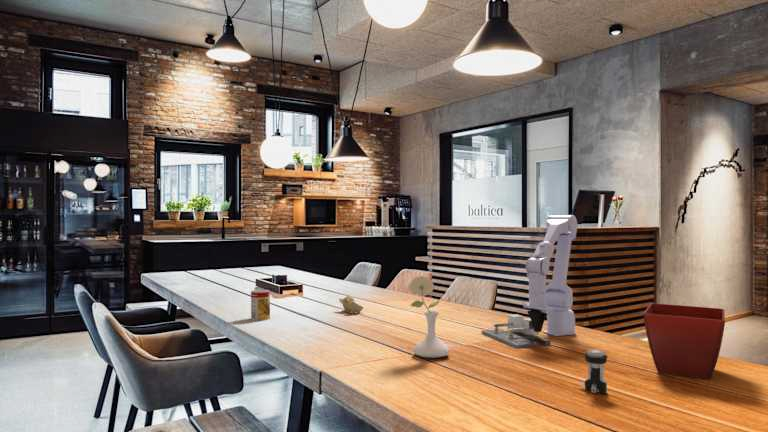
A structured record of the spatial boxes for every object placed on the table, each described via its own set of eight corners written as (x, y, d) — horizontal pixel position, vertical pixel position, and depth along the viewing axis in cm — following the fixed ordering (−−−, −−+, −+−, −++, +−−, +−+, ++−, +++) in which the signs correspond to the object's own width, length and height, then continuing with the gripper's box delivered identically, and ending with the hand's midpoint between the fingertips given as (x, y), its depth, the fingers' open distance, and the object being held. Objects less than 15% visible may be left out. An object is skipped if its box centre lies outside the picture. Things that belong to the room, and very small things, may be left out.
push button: (575, 390, 134) (575, 350, 134) (584, 385, 138) (583, 346, 138) (603, 396, 129) (602, 355, 129) (610, 391, 133) (610, 351, 133)
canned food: (273, 318, 233) (273, 290, 233) (260, 321, 226) (260, 292, 226) (260, 316, 237) (260, 289, 237) (247, 319, 230) (247, 291, 230)
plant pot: (725, 385, 137) (725, 319, 137) (643, 374, 147) (642, 312, 147) (725, 367, 153) (724, 308, 153) (650, 358, 164) (650, 303, 164)
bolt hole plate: (500, 331, 202) (500, 328, 202) (537, 346, 180) (537, 342, 180) (481, 333, 200) (481, 330, 200) (517, 348, 177) (517, 344, 177)
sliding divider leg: (532, 332, 193) (532, 318, 193) (538, 335, 189) (538, 320, 189) (505, 335, 189) (505, 320, 190) (511, 337, 186) (511, 322, 186)
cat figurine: (351, 301, 238) (339, 291, 248) (345, 316, 239) (333, 305, 249) (366, 305, 243) (353, 294, 253) (360, 319, 244) (348, 308, 253)
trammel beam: (512, 330, 204) (512, 326, 204) (550, 344, 181) (550, 340, 181) (507, 331, 203) (507, 327, 203) (545, 345, 181) (545, 340, 181)
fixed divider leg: (517, 327, 202) (517, 314, 202) (523, 329, 199) (523, 316, 199) (491, 329, 199) (491, 316, 199) (496, 331, 195) (496, 318, 195)
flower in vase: (453, 352, 172) (452, 274, 172) (445, 362, 161) (444, 278, 161) (413, 349, 176) (413, 273, 176) (403, 358, 165) (403, 277, 165)
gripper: (516, 290, 192) (516, 328, 192) (539, 295, 178) (539, 336, 178) (533, 289, 194) (533, 326, 194) (557, 294, 180) (558, 335, 180)
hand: (537, 331), depth 186 cm, fingers closed
